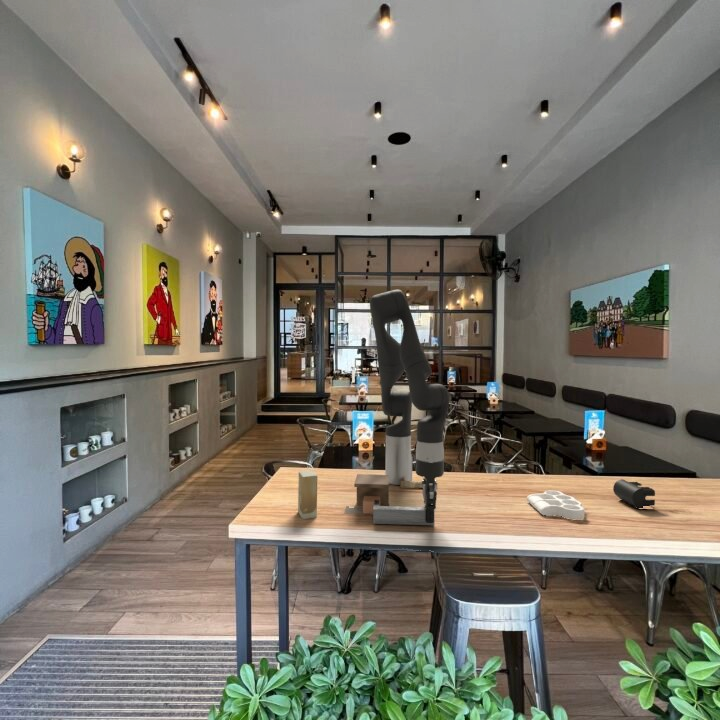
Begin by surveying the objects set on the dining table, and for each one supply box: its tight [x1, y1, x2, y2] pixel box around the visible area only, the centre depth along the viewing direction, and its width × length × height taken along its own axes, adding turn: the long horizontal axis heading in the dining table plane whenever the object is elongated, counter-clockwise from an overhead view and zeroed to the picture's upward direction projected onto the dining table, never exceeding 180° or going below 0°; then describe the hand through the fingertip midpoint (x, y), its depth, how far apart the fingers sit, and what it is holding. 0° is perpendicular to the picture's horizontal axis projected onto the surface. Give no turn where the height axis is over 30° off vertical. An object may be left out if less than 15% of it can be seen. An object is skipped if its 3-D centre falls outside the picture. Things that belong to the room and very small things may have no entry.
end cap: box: [612, 478, 656, 509], centre depth 135 cm, size 10×7×7 cm
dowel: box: [400, 480, 422, 489], centre depth 150 cm, size 10×2×2 cm
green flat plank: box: [343, 505, 369, 515], centre depth 127 cm, size 25×6×1 cm, turn 85°
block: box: [362, 496, 381, 515], centre depth 127 cm, size 5×5×4 cm
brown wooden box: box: [353, 473, 390, 506], centre depth 129 cm, size 10×10×9 cm
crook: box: [372, 500, 435, 526], centre depth 120 cm, size 16×8×4 cm, turn 86°
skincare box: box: [297, 469, 318, 520], centre depth 124 cm, size 6×4×12 cm
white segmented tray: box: [526, 489, 587, 520], centre depth 130 cm, size 3×18×15 cm
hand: (429, 520), depth 117 cm, fingers closed on crook, 2 cm apart
